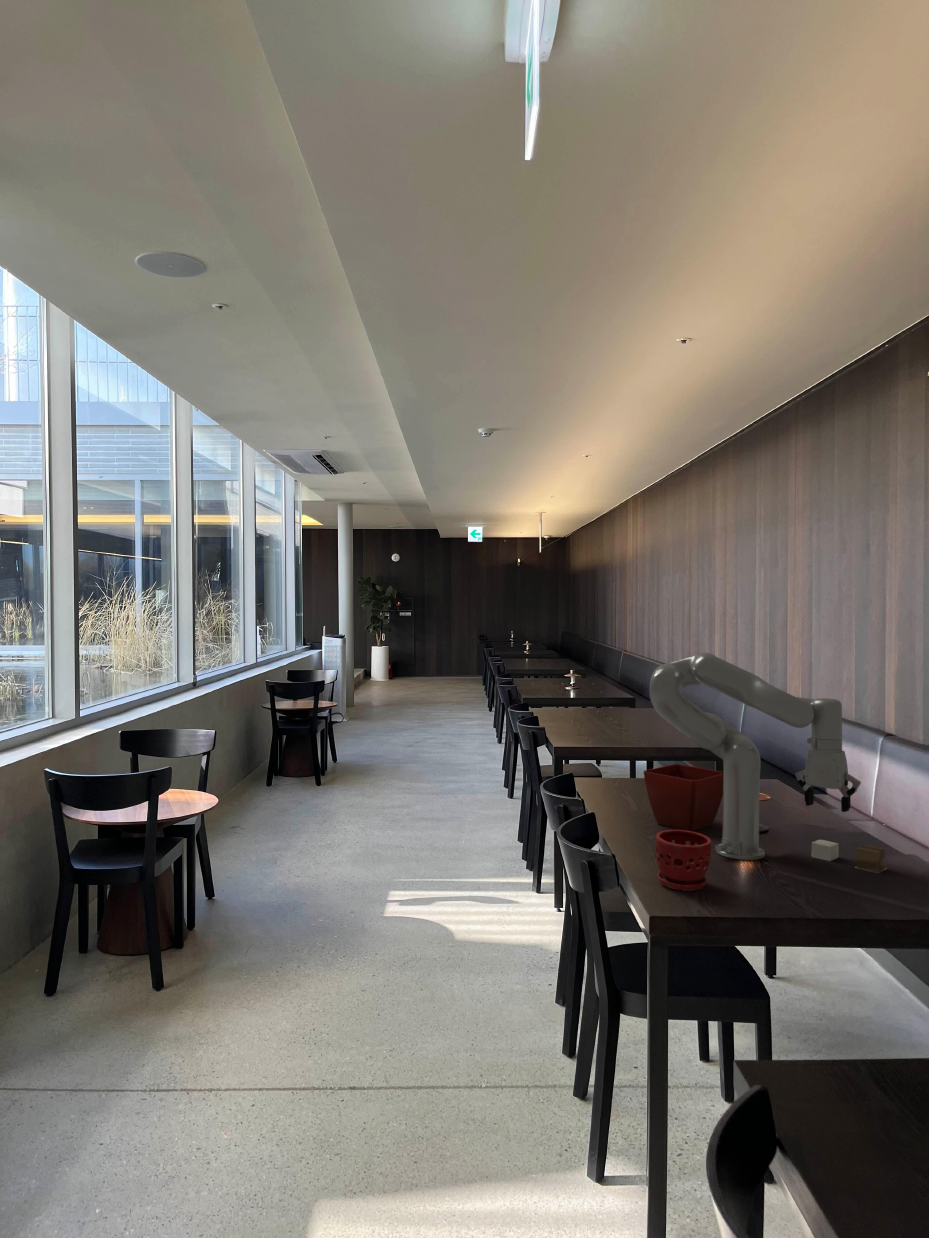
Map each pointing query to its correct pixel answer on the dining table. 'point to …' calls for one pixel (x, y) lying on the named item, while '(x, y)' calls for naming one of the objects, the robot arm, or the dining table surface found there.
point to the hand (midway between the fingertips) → (827, 808)
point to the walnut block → (871, 858)
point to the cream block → (825, 850)
